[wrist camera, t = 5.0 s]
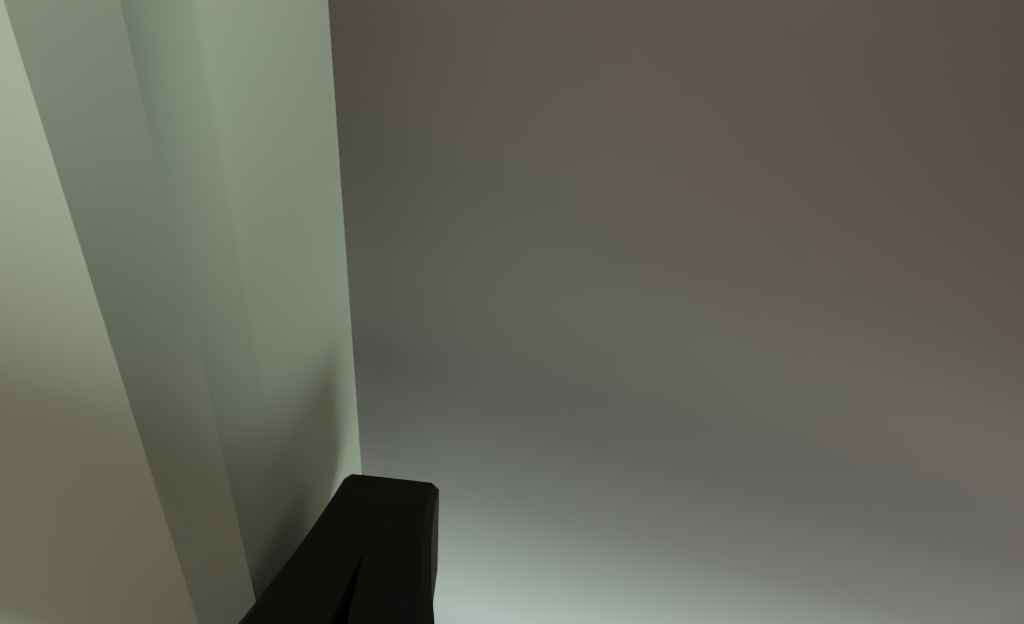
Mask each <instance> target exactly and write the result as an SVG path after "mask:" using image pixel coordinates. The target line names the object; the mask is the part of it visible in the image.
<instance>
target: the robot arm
mask: <svg viewBox="0 0 1024 624" xmlns="http://www.w3.org/2000/svg"><path fill="white" fill-rule="evenodd" d="M438 511H439V489H438V488H437V487H435V486H434V485H433V484H432V483H428V482H419V481H411V480H402V479H393V478H384V477H375V476H366V475H357V474H351V475H349V476H348V477H346V478H344V480H343V481H342V483H341V485H340V486H339V488H338V489H337V491H336V493H335V494H334V496H333V497H332V499H331V500H330V502H329V503H328V505H327V506H326V508H325V509H324V511H323V512H322V514H321V515H320V517H319V518H318V520H317V521H316V523H315V524H314V525H313V527H312V528H311V530H310V531H309V533H308V534H307V535H306V537H305V538H304V539H303V541H302V542H301V544H300V545H299V546H298V548H297V549H296V550H295V552H294V553H293V555H292V556H291V557H290V559H289V560H288V561H287V563H286V564H285V565H284V566H283V568H282V569H281V570H280V572H279V573H278V574H277V575H276V577H275V578H274V579H273V581H272V582H271V583H270V584H269V586H268V587H267V588H266V590H265V591H264V592H263V593H262V595H261V596H260V597H259V599H258V600H257V601H256V602H255V604H254V605H253V606H252V607H251V609H250V610H249V611H248V612H247V614H246V615H245V616H244V617H243V618H242V620H241V621H240V622H239V623H238V624H434V612H433V598H434V590H435V582H436V575H437V560H438Z"/></svg>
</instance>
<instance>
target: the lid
mask: <svg viewBox="0 0 1024 624" xmlns="http://www.w3.org/2000/svg"><path fill="white" fill-rule="evenodd" d="M351 474H357V475H362V472H361V458H360V444H359V430H358V416H357V402H356V388H355V374H354V360H353V346H352V332H351V318H350V304H349V290H348V275H347V261H346V247H345V233H344V219H343V205H342V191H341V177H340V163H339V149H338V135H337V121H336V107H335V93H334V79H333V65H332V51H331V37H330V23H329V9H328V0H0V624H238V623H239V622H240V621H241V620H242V618H243V617H244V616H245V615H246V614H247V612H248V611H249V610H250V609H251V607H252V606H253V605H254V604H255V602H256V601H257V600H258V599H259V597H260V596H261V595H262V593H263V592H264V591H265V590H266V588H267V587H268V586H269V584H270V583H271V582H272V581H273V579H274V578H275V577H276V575H277V574H278V573H279V572H280V570H281V569H282V568H283V566H284V565H285V564H286V563H287V561H288V560H289V559H290V557H291V556H292V555H293V553H294V552H295V550H296V549H297V548H298V546H299V545H300V544H301V542H302V541H303V539H304V538H305V537H306V535H307V534H308V533H309V531H310V530H311V528H312V527H313V525H314V524H315V523H316V521H317V520H318V518H319V517H320V515H321V514H322V512H323V511H324V509H325V508H326V506H327V505H328V503H329V502H330V500H331V499H332V497H333V496H334V494H335V493H336V491H337V489H338V488H339V486H340V485H341V483H342V481H343V480H344V478H346V477H348V476H349V475H351Z"/></svg>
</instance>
